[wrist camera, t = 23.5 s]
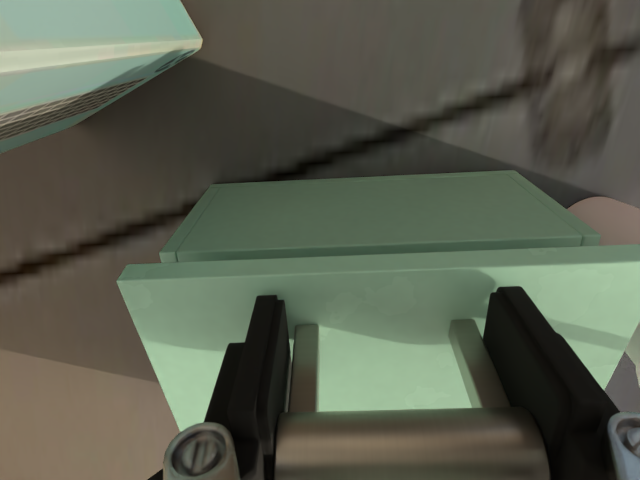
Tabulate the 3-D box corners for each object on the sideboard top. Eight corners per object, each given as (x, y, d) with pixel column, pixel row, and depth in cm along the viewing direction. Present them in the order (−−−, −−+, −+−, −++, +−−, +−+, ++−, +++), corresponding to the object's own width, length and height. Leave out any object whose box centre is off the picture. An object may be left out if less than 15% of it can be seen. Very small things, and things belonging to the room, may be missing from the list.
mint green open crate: (210, 183, 20) (158, 252, 14) (514, 169, 20) (602, 235, 13) (250, 403, 27) (227, 516, 21) (477, 397, 27) (524, 512, 20)
